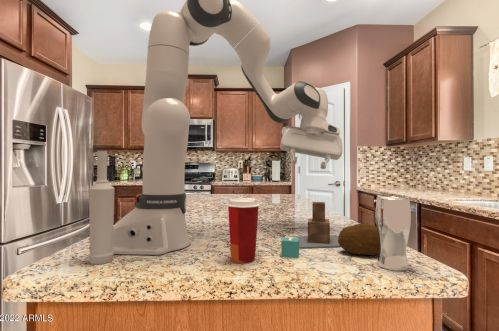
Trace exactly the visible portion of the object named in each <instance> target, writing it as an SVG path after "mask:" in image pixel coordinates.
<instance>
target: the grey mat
mask: <svg viewBox="0 0 499 331" xmlns="http://www.w3.org/2000/svg"><path fill="white" fill-rule="evenodd" d="M287 237H294V238H299V250H301V249H322V248H323V249H327V248H328V249H330V248H342V247H341V246H340V245H339V243H338V237H339V235H337V234H333V235H332V234H330V244H323V243H308V235H295V236H290V235H289V236H287Z"/></svg>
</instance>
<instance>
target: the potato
mask: <svg viewBox="0 0 499 331" xmlns="http://www.w3.org/2000/svg"><path fill="white" fill-rule="evenodd" d="M338 236H339V237H338V243H339V245H340V246H341V247H340V248H341V249H342V250H344V251H345V252H348V253H350V254H354V255H367V256H377V255H379V251H380V247H379V239H378V234H377V228H376V226H375V225H373V224H370V223H367V222H360V223H356V224H353V225H348V226H346V227H343V228H342V229H341V230H340V232H339V234H338Z"/></svg>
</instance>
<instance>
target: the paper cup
mask: <svg viewBox="0 0 499 331" xmlns="http://www.w3.org/2000/svg"><path fill="white" fill-rule="evenodd" d="M259 206H261V205H260V203H259V200H258V199H257V198H248V197H239V198H238V197H237V198H235V197H234V198H229V200H227V204H226V207H228V209H227V210H228V212H227V213H228V227H229V228H228V229H229V230H228V231H229V248H230V250H229V251H230V260H231V262H233V263H236V264H249V263H252V262H255V260H256V251H257V250H256V249H257V234H258V220H259Z"/></svg>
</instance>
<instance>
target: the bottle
mask: <svg viewBox="0 0 499 331" xmlns="http://www.w3.org/2000/svg"><path fill="white" fill-rule="evenodd" d="M96 154H97V155H96V161H97V165H96V166H97V167H96V168H97V172H96V174H97V176H96V181H95V183H94V184H93V185H92V186H91V187H89V189H88V195H89V196H88V202H89V203H88V205H89V207H88V210H89V211H88V212H89V214H88V215H89V216H88V217H89V220H88V221H89V254H88V261H89V264H91V265H103V264H104V265H105V264H108V263H111V262H112V261H113V260H114V257H115V256H114V255H115V254H114V251H113V227H114V223H115V222H114V219H115V218H114V214H115V190H116V188H115V187H114V186H113V185H111V183H110V182H109V180H108V151H107V150H97V151H96Z"/></svg>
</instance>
